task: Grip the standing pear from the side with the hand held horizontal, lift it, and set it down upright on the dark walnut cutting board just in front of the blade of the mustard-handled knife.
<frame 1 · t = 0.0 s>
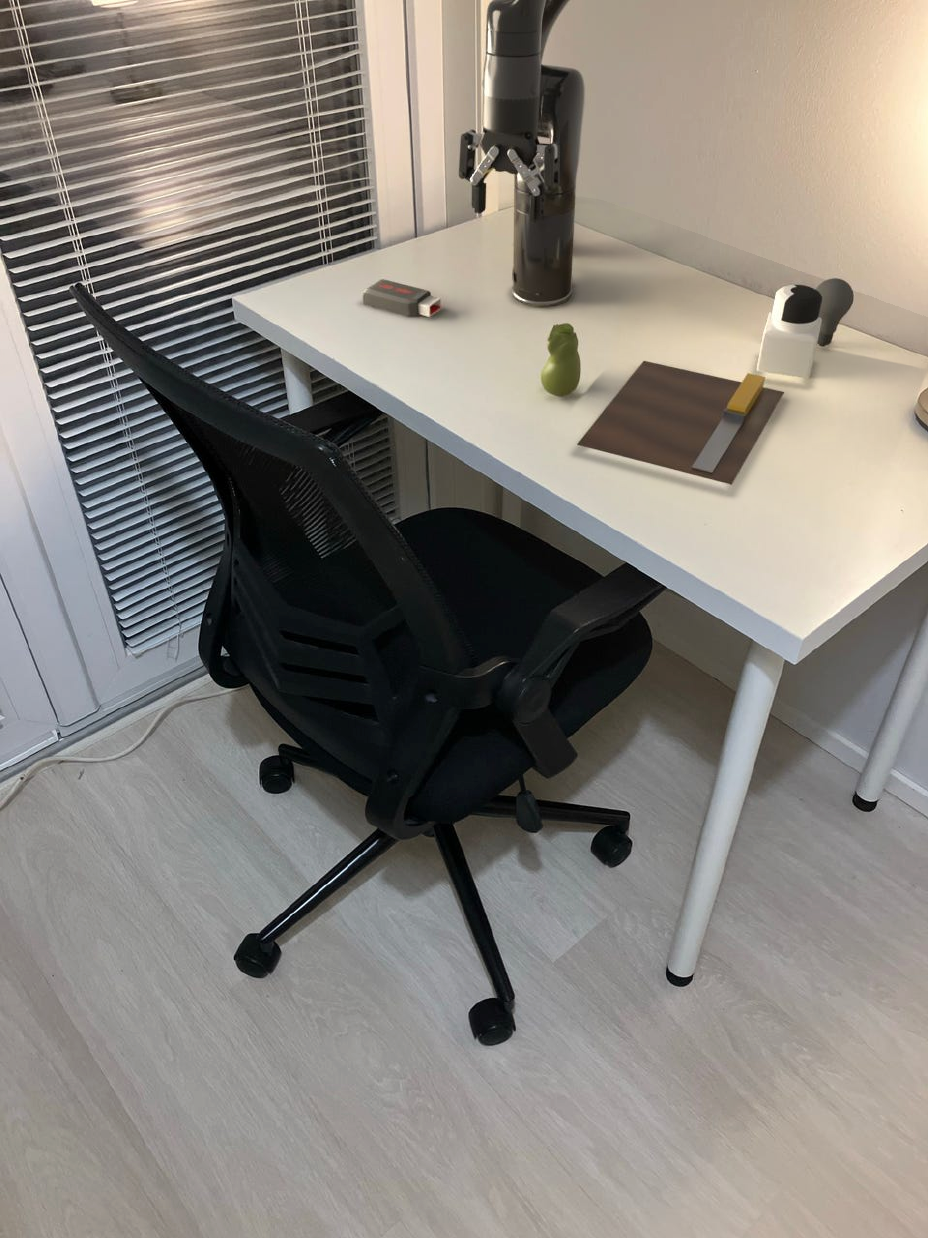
hand: (506, 216, 147), 17 cm above the table, tool pointing down, fingers open, 8 cm apart
medicine bottle: (783, 373, 148), on the table
cutting board: (682, 427, 138), on the table
knife: (728, 427, 135), resting on cutting board
light bulb: (821, 346, 153), on the table
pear: (559, 394, 145), on the table
usb drive: (403, 306, 166), on the table
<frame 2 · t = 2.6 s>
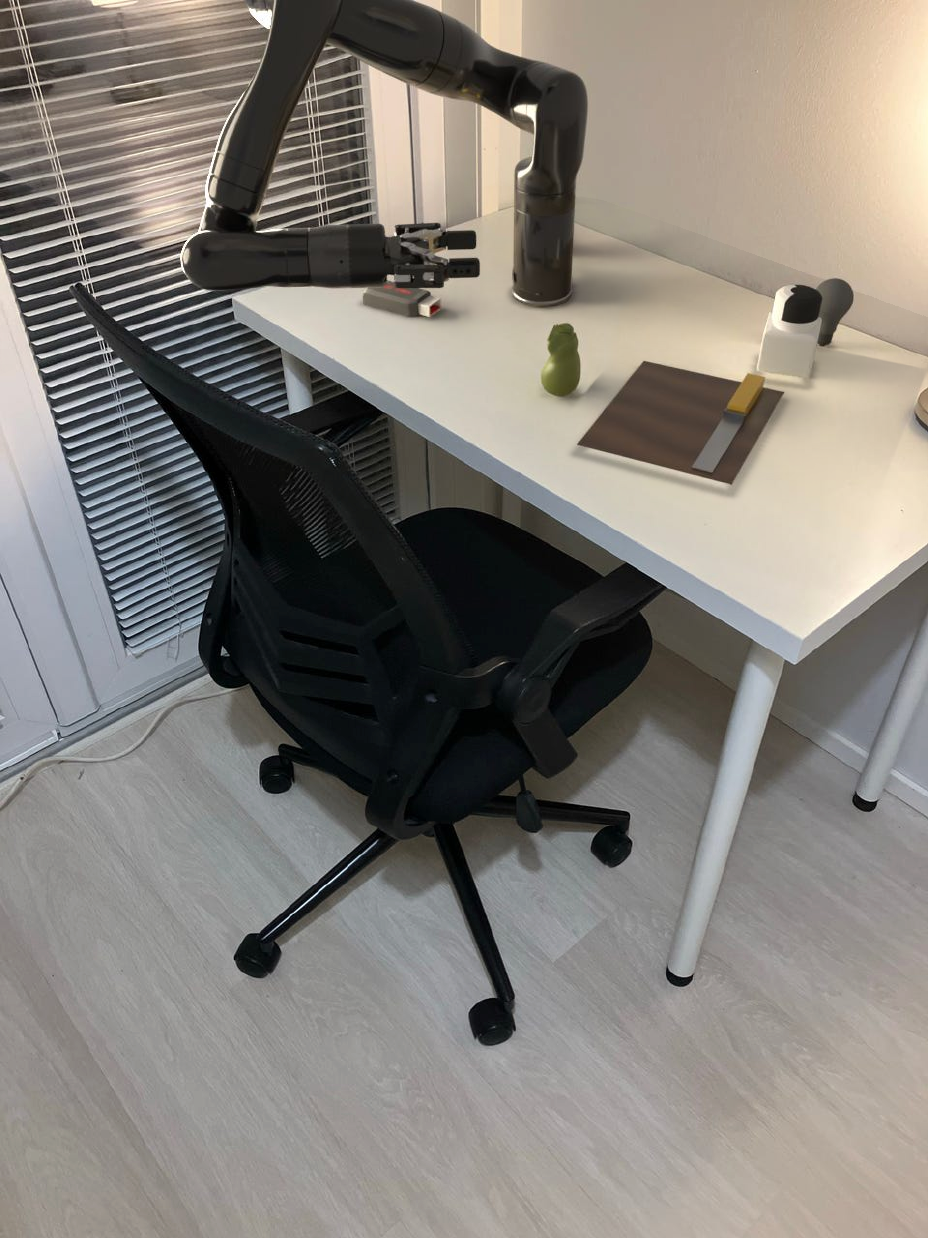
hand: (477, 253, 131), 20 cm above the table, tool horizontal, fingers open, 8 cm apart
nothing on the table moved.
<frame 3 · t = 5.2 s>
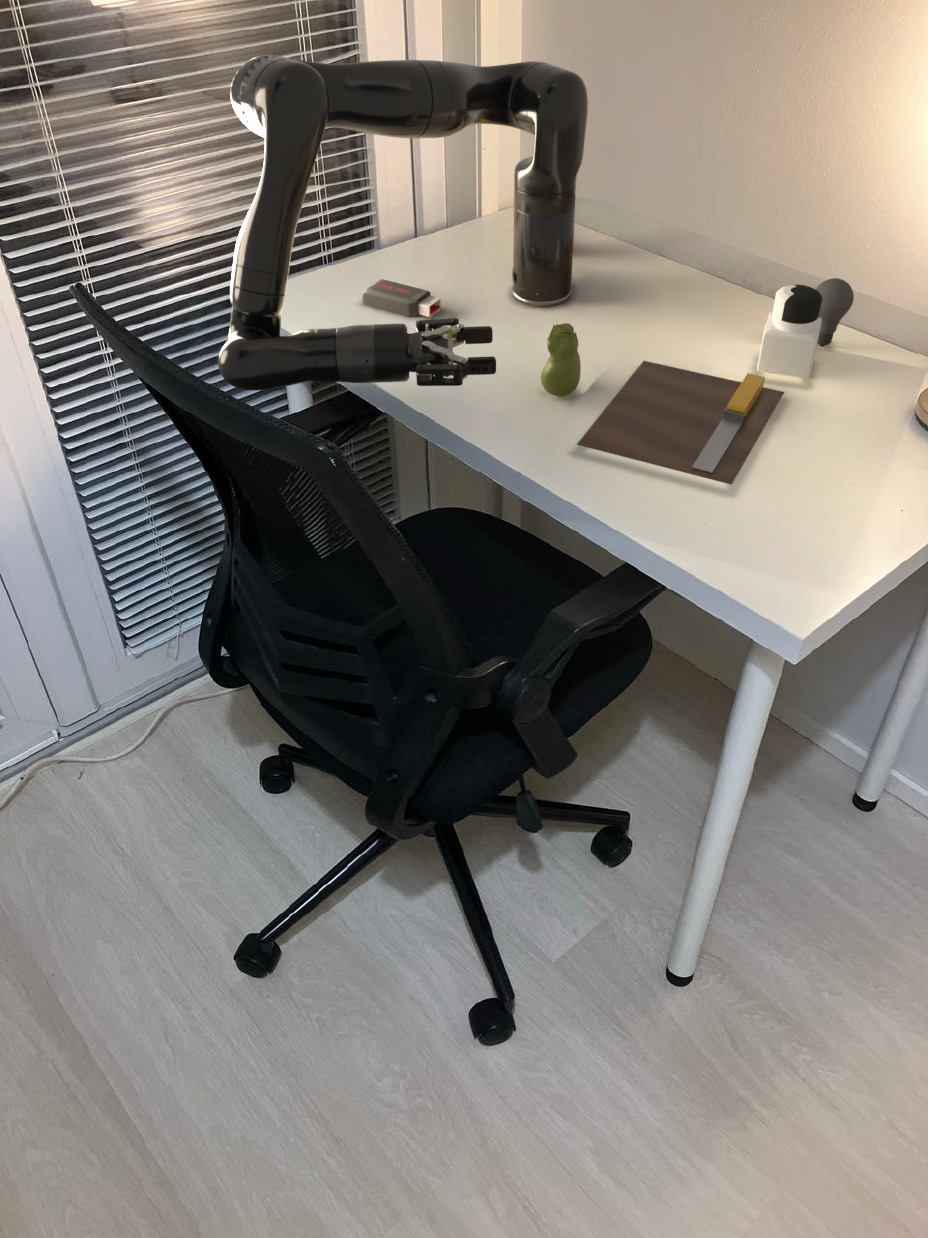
hand: (494, 349, 140), 7 cm above the table, tool horizontal, fingers open, 8 cm apart
nothing on the table moved.
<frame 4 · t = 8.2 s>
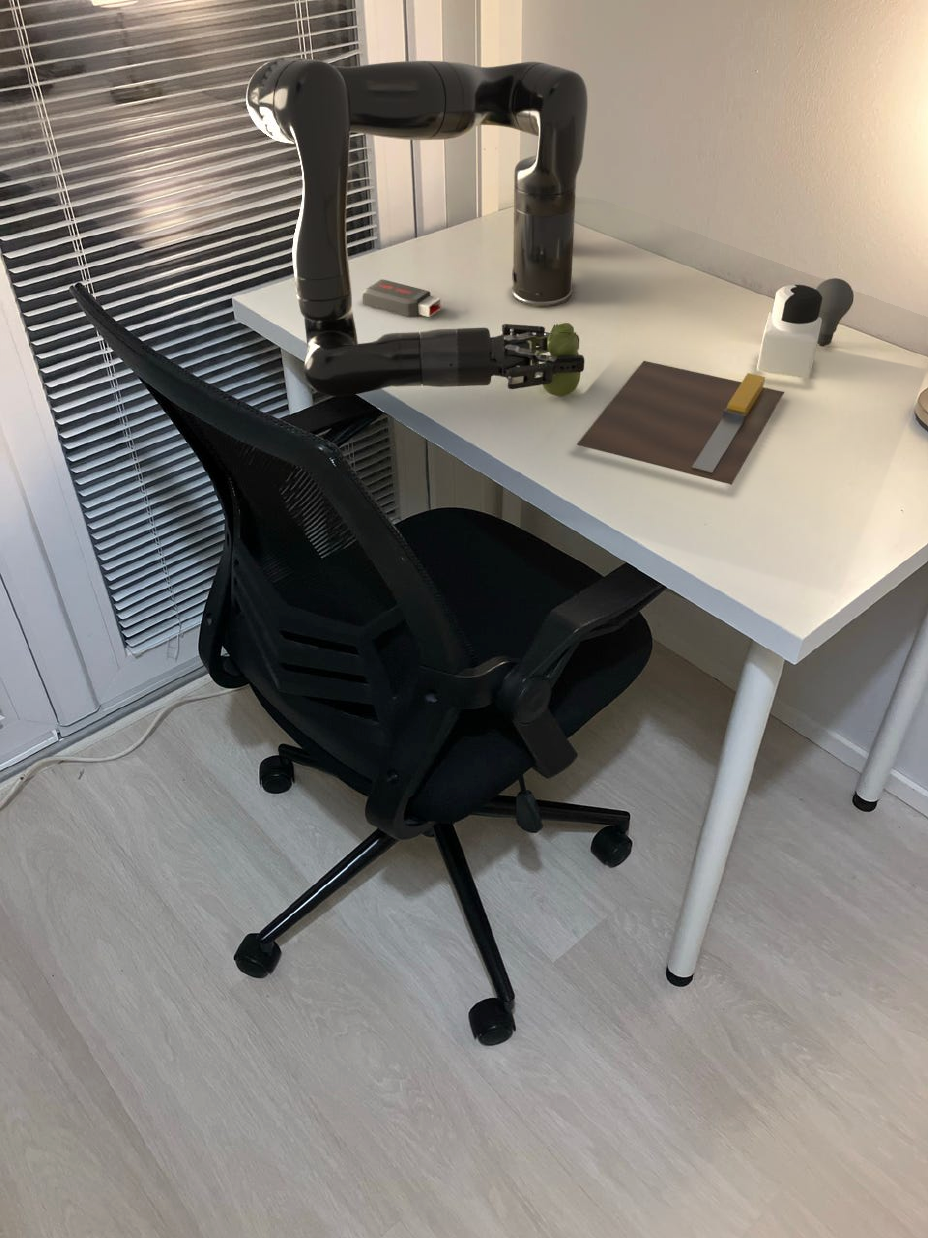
hand: (580, 352, 141), 6 cm above the table, tool horizontal, fingers closed on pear, 5 cm apart
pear: (559, 394, 145), on the table, touching gripper
everything else where it was.
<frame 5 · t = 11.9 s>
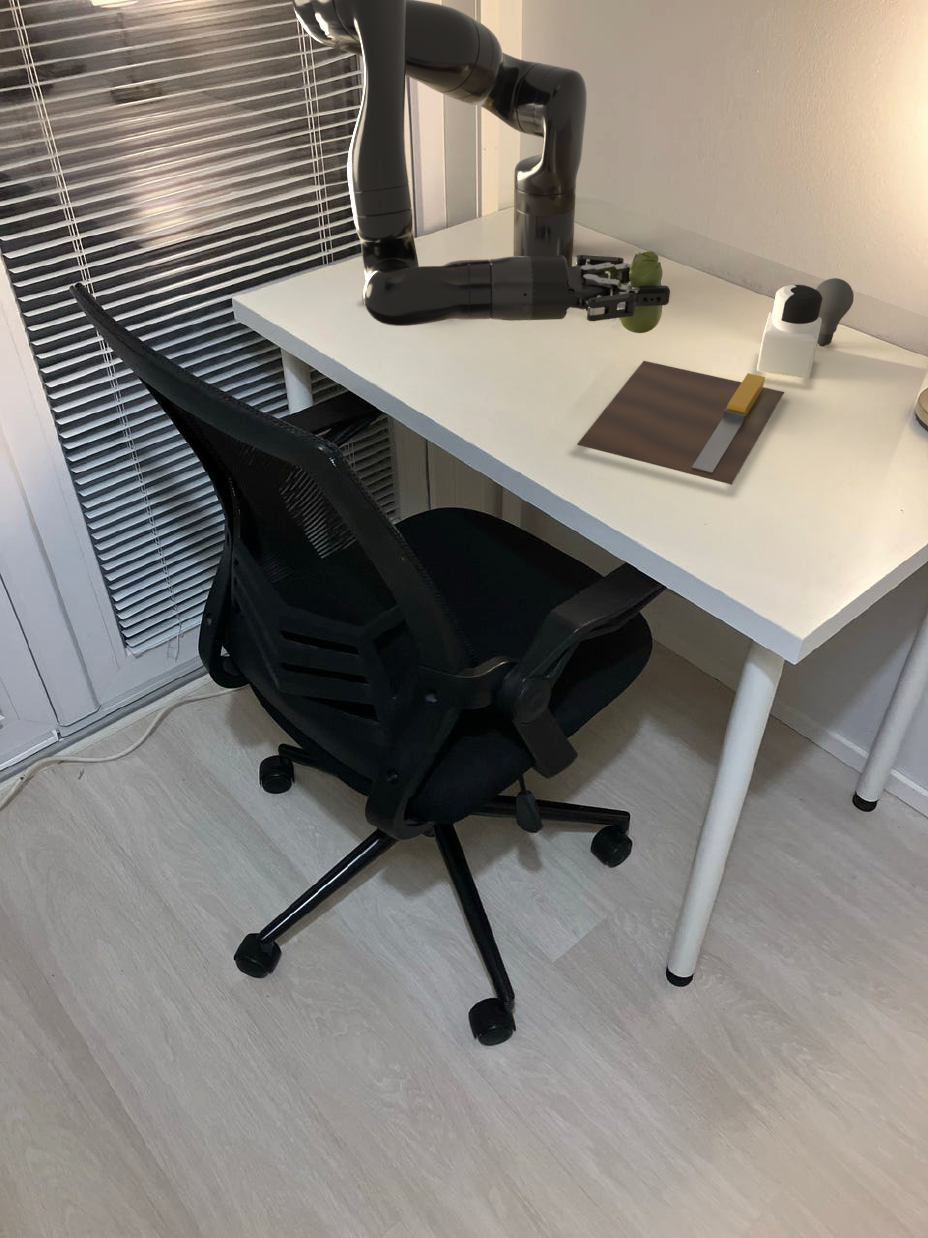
hand: (664, 284, 129), 18 cm above the table, tool horizontal, fingers closed on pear, 5 cm apart
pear: (638, 331, 133), point 11 cm above the table, touching gripper
everything else where it was.
when the fingers open (8 cm above the table, at t = 15.6 s): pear stays where it is, resting on cutting board.
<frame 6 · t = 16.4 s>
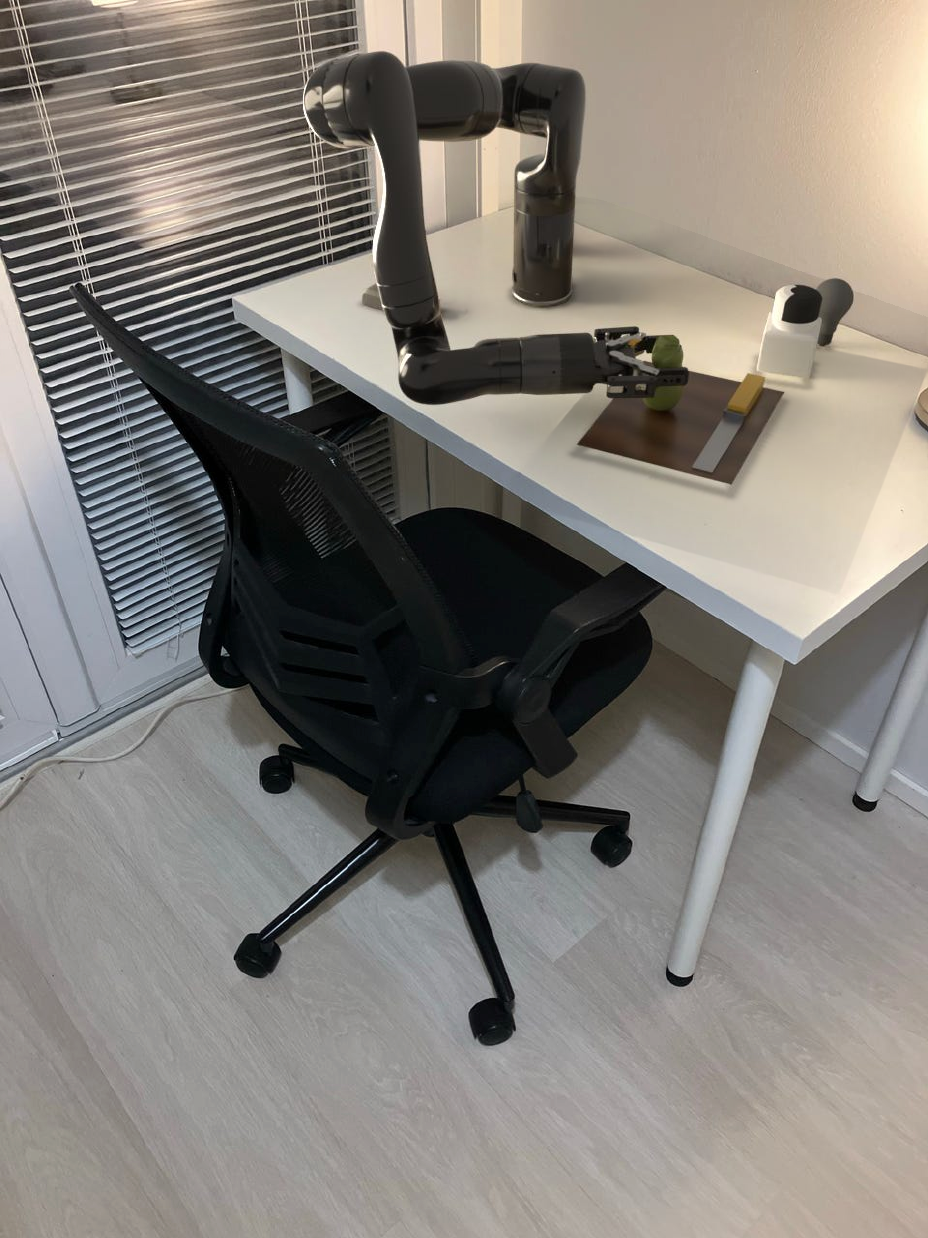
hand: (681, 359, 134), 8 cm above the table, tool horizontal, fingers open, 8 cm apart
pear: (659, 408, 139), point 1 cm above the table, touching cutting board
everything else where it was.
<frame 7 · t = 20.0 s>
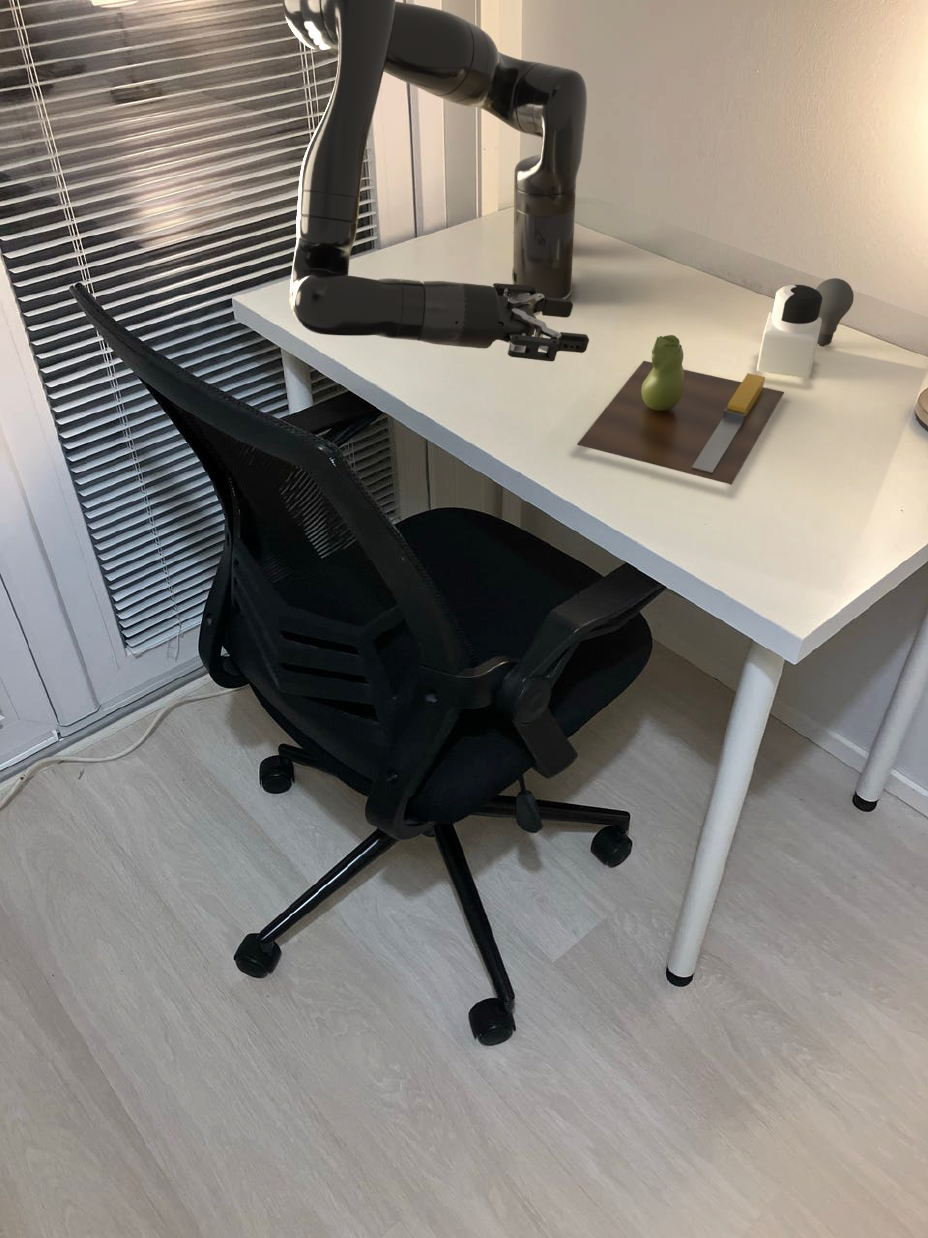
hand: (578, 325, 133), 12 cm above the table, tool horizontal, fingers open, 8 cm apart
nothing on the table moved.
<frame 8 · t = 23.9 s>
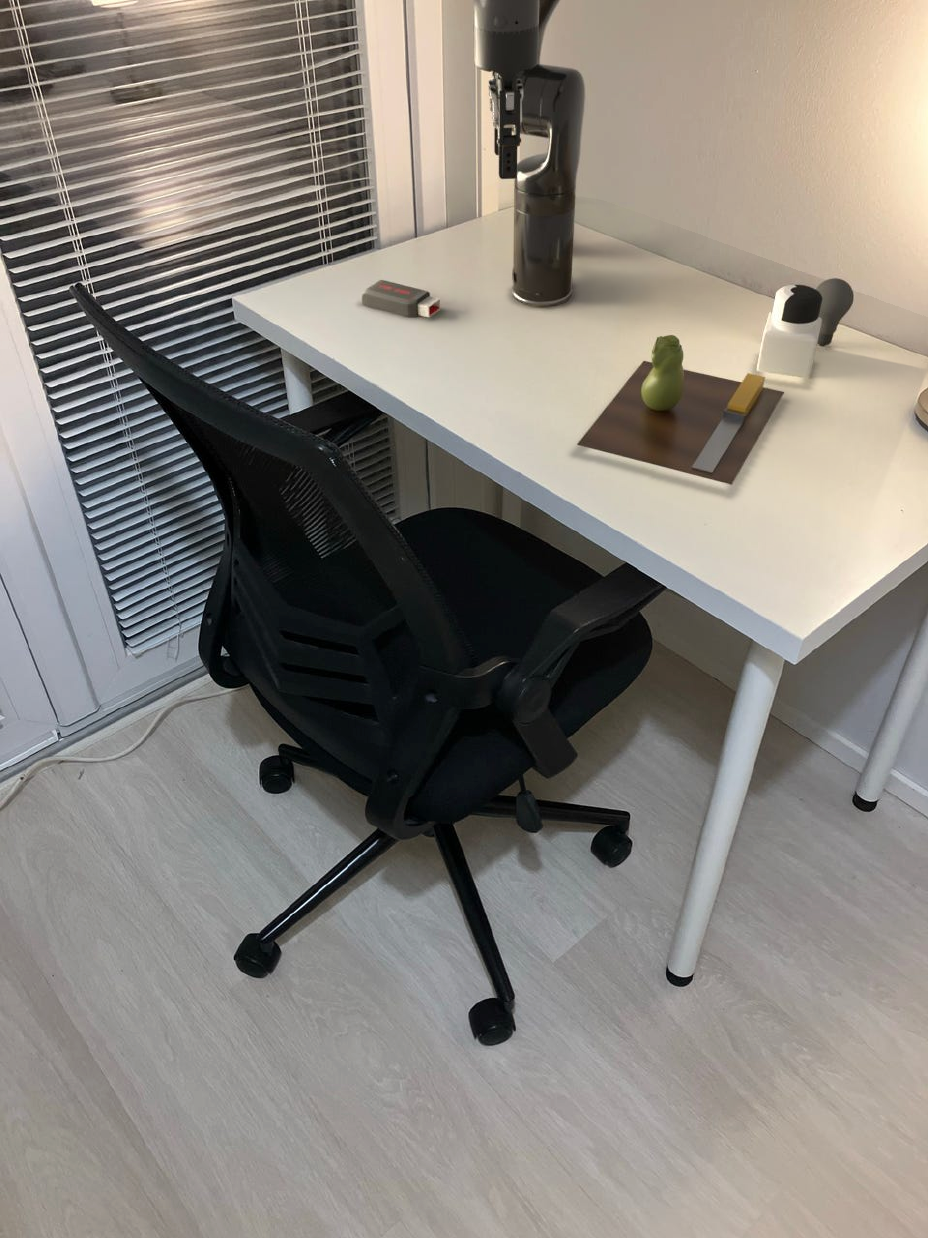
hand: (505, 165, 131), 28 cm above the table, tool pointing down, fingers open, 8 cm apart
nothing on the table moved.
at the end: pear inside the target area on the table beside the knife (0.4 cm from its centre), resting on cutting board; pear tilted 0°; the gripper is holding nothing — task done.
